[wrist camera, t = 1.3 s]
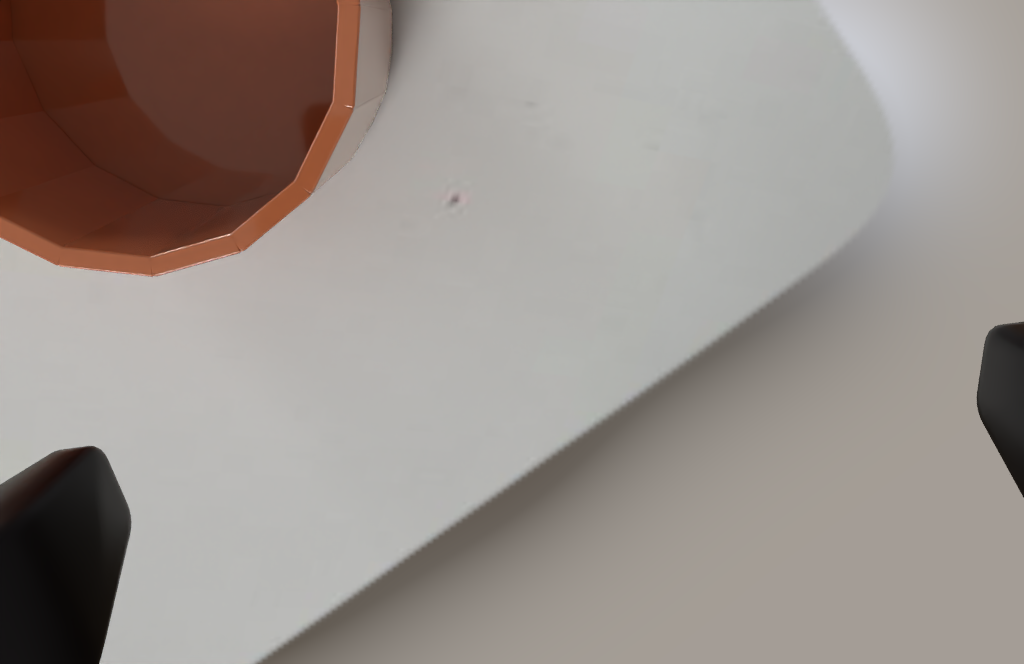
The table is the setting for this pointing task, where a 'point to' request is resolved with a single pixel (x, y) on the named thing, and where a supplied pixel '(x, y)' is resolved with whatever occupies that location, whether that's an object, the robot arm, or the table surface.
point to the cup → (177, 121)
